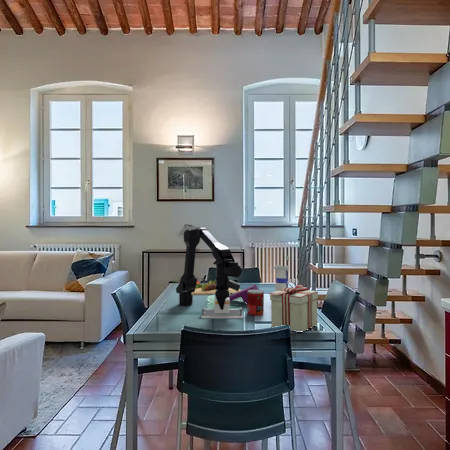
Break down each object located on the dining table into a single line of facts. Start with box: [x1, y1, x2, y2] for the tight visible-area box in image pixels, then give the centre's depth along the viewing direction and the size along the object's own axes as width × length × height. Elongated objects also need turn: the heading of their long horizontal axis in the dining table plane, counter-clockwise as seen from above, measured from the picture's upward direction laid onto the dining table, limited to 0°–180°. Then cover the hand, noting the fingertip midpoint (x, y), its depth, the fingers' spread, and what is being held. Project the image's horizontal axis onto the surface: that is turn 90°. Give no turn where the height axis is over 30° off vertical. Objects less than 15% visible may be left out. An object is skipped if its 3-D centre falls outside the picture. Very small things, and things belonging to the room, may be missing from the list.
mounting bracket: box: [229, 284, 259, 303], centre depth 209 cm, size 9×8×18 cm
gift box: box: [269, 284, 319, 331], centre depth 164 cm, size 17×18×17 cm
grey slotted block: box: [213, 297, 231, 313], centre depth 181 cm, size 7×6×6 cm
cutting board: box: [192, 278, 242, 296], centre depth 241 cm, size 35×23×8 cm
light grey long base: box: [200, 306, 244, 319], centre depth 181 cm, size 19×9×4 cm, turn 91°
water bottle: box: [272, 255, 291, 292], centre depth 214 cm, size 8×9×25 cm
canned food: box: [246, 289, 265, 317], centre depth 185 cm, size 8×8×11 cm
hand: (221, 308), depth 181 cm, fingers closed on grey slotted block, 5 cm apart
